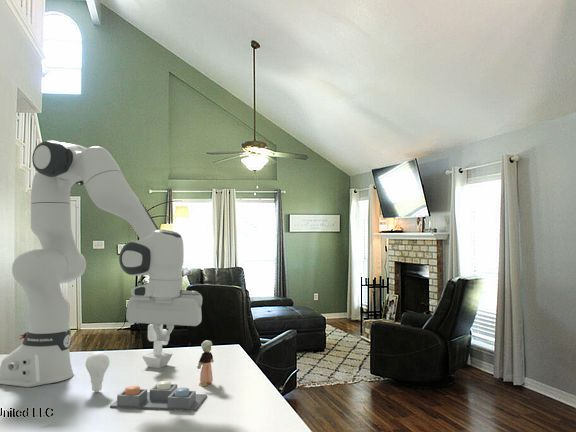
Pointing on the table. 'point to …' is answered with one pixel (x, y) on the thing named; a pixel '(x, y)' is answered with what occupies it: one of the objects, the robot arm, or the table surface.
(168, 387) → the cream button
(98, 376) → the lightbulb
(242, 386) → the table surface
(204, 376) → the grandmother figurine
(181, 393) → the slate button
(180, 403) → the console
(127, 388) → the rust button
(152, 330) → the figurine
